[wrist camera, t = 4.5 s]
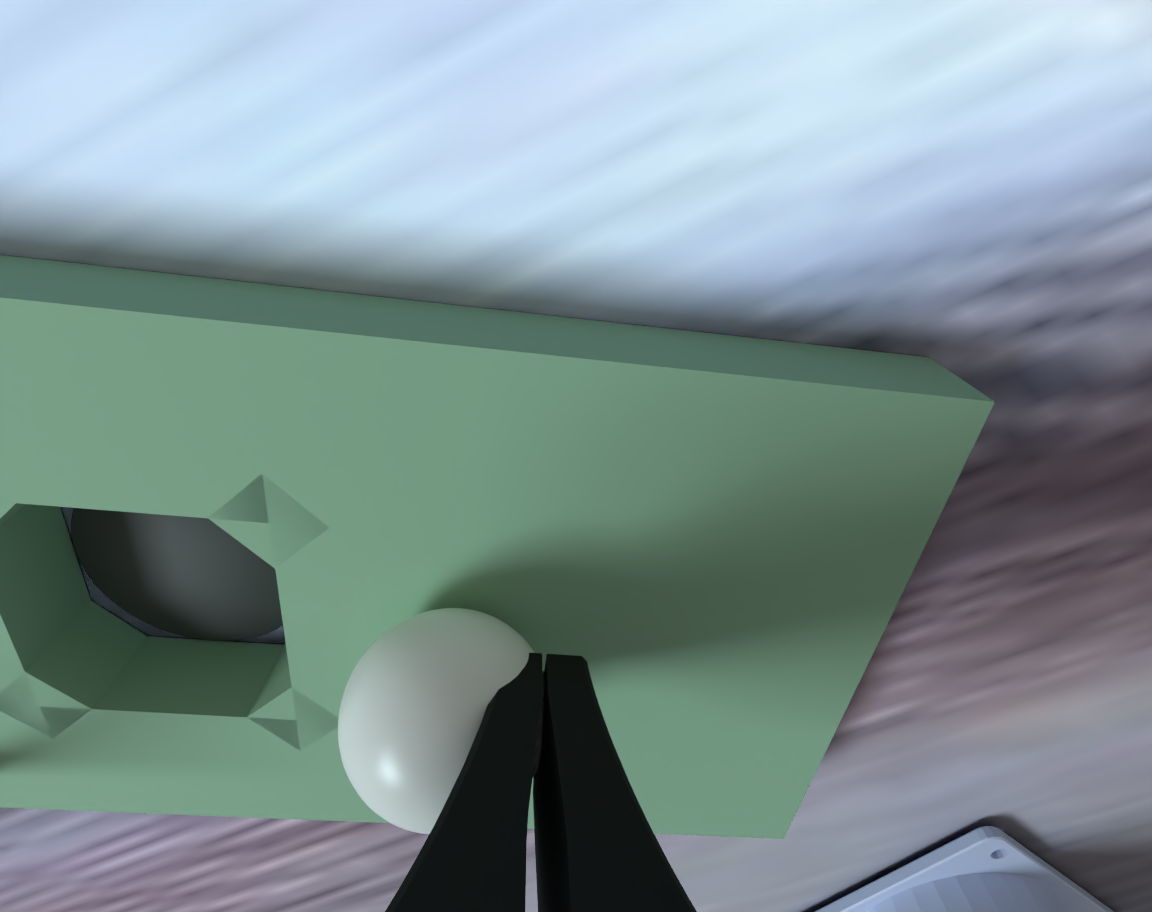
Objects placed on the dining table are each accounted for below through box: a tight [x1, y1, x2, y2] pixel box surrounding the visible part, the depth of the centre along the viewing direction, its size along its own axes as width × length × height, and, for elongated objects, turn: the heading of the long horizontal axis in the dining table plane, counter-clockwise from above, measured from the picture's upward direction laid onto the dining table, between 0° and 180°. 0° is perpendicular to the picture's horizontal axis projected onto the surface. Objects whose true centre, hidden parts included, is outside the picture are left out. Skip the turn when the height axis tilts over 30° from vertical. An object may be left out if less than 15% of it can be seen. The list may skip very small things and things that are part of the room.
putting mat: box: [0, 255, 995, 839], centre depth 10 cm, size 22×12×9 cm, turn 83°
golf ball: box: [338, 608, 544, 834], centre depth 11 cm, size 4×4×4 cm
